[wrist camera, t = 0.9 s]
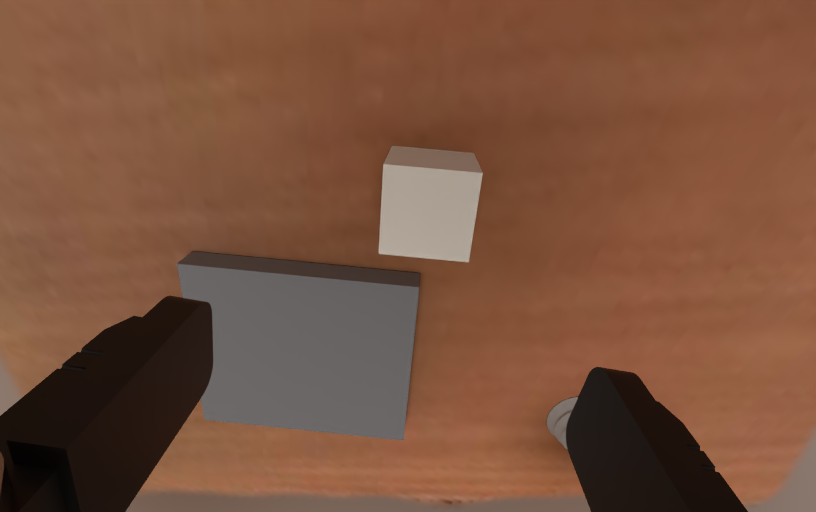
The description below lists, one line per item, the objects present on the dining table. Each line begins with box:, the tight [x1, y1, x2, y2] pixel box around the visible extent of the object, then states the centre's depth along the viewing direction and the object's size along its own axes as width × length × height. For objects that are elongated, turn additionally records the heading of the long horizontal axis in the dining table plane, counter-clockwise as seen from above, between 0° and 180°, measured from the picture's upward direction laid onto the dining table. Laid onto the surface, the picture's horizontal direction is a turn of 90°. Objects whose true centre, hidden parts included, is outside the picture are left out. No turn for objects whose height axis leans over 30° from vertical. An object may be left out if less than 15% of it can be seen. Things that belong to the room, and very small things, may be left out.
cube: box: [379, 146, 483, 262], centre depth 24 cm, size 5×5×5 cm
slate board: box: [177, 251, 420, 440], centre depth 31 cm, size 16×14×2 cm
